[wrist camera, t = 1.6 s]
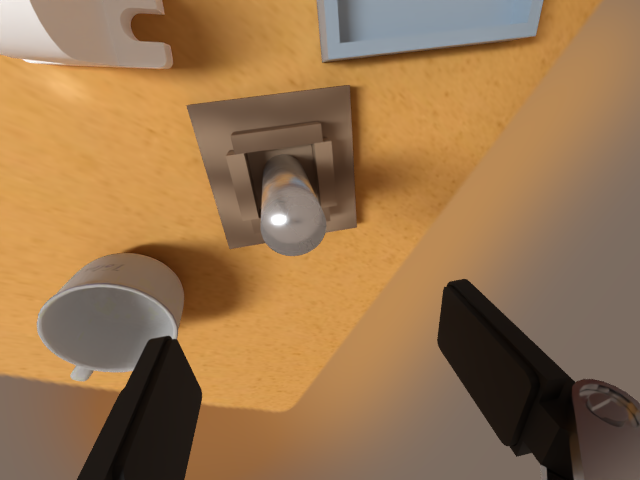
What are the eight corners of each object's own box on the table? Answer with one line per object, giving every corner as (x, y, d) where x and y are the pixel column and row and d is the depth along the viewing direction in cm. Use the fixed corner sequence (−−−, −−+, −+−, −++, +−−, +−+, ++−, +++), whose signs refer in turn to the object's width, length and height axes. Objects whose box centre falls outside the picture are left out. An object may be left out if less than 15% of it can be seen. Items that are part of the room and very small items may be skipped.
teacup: (130, 220, 29) (87, 262, 22) (214, 282, 34) (200, 332, 27) (48, 299, 32) (-14, 359, 25) (137, 346, 37) (106, 406, 30)
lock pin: (258, 157, 27) (254, 202, 16) (301, 151, 27) (322, 191, 17) (267, 197, 29) (267, 260, 18) (306, 191, 29) (329, 250, 19)
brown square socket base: (190, 104, 25) (178, 107, 22) (345, 85, 26) (357, 84, 23) (231, 242, 32) (226, 261, 28) (353, 221, 33) (363, 237, 30)
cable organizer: (7, -25, 20) (-194, -112, 11) (159, -13, 21) (87, -81, 13) (39, 64, 22) (-105, 49, 14) (174, 69, 24) (122, 59, 15)
